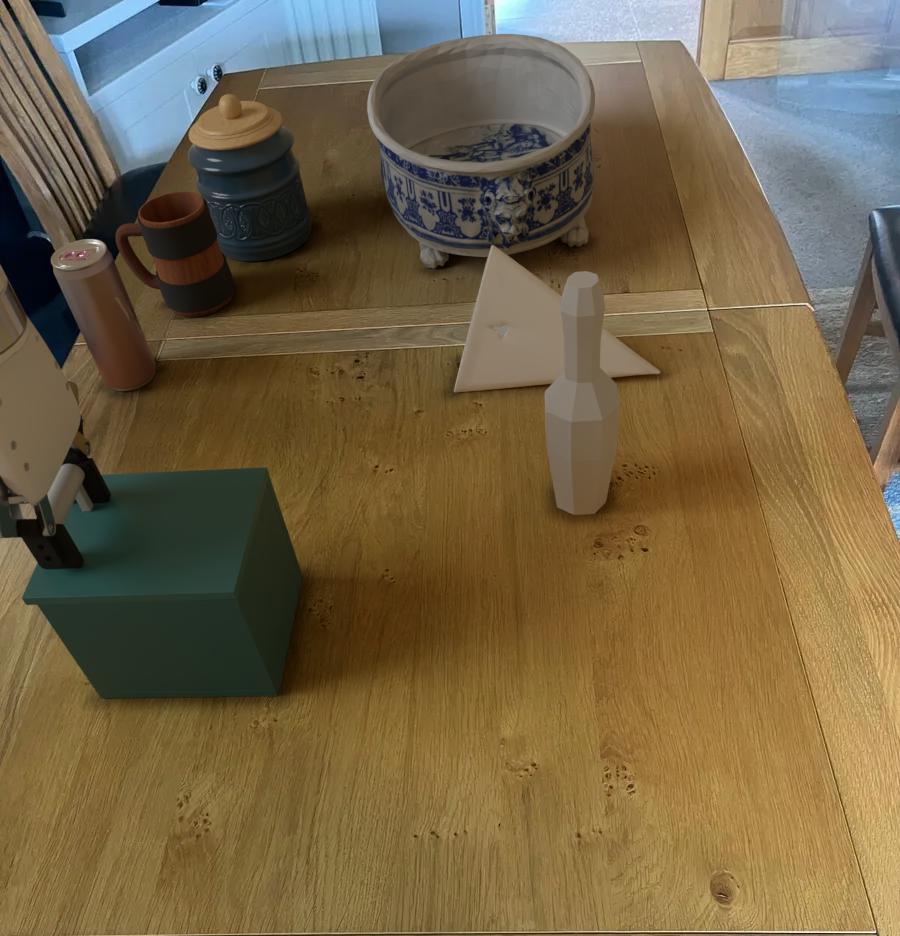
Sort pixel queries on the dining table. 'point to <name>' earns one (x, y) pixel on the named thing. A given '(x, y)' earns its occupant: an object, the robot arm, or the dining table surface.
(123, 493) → the cool box lid
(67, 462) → the robot arm
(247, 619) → the cool box
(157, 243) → the mug
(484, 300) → the drafting triangle
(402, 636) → the dining table surface
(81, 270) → the beverage can
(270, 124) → the canister
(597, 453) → the low poly bottle
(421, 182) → the decorative bowl
